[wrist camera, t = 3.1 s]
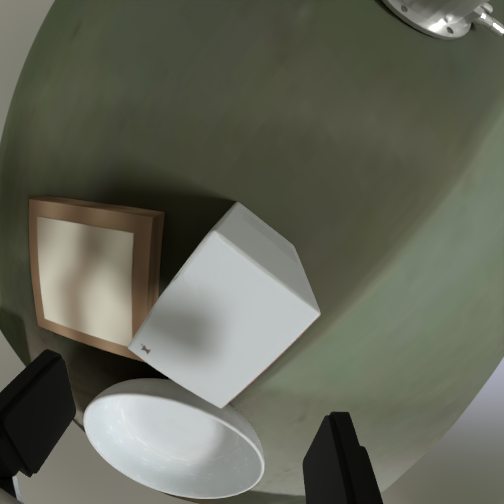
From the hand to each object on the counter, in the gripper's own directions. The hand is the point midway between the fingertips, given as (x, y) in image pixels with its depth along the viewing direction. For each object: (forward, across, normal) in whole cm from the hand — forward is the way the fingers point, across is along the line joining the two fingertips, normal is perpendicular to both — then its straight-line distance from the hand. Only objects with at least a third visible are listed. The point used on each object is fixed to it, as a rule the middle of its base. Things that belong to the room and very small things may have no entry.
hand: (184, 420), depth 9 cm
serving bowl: (+19, +4, +21) cm, 29 cm away
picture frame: (+18, +14, +3) cm, 23 cm away
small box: (+18, 0, -1) cm, 18 cm away
